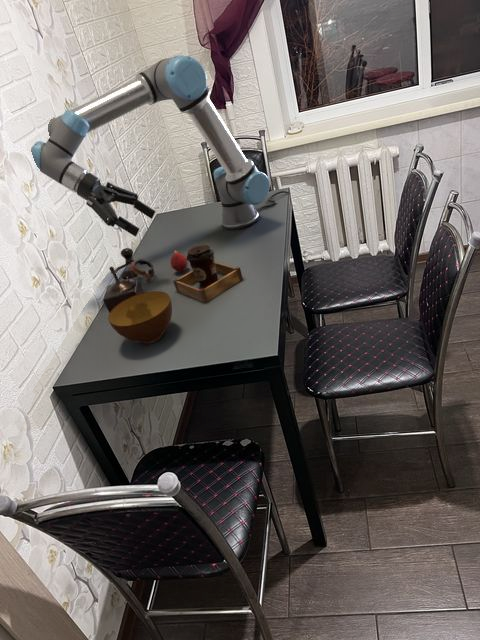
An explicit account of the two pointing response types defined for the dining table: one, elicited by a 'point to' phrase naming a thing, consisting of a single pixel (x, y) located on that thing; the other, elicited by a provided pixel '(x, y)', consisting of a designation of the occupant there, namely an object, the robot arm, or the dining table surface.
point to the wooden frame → (214, 289)
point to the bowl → (142, 316)
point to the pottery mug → (139, 271)
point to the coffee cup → (203, 265)
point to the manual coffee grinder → (122, 284)
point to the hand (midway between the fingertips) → (146, 223)
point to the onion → (178, 262)
